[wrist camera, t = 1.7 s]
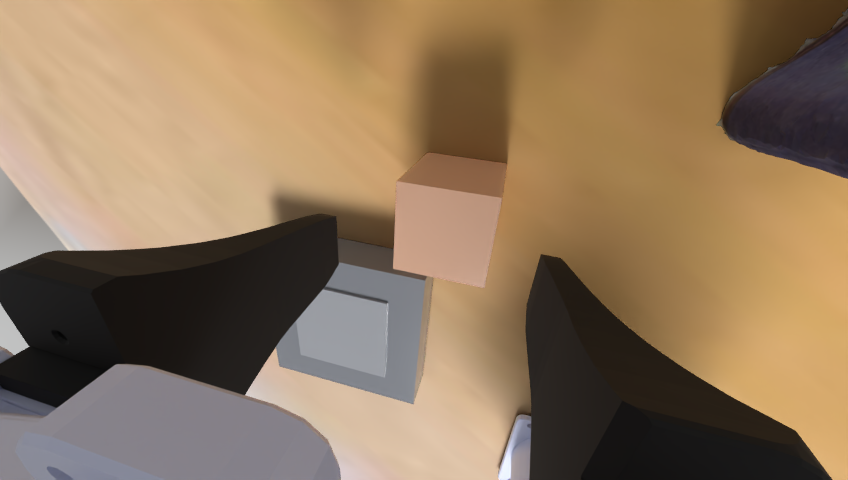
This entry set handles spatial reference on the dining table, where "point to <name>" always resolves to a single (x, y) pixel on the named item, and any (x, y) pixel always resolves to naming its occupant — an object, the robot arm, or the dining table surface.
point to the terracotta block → (448, 217)
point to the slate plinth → (364, 325)
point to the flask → (798, 106)
